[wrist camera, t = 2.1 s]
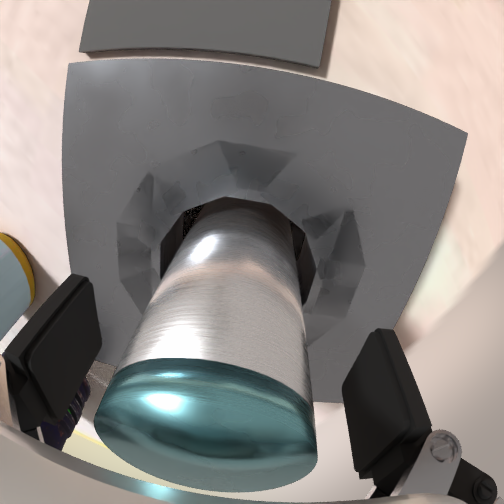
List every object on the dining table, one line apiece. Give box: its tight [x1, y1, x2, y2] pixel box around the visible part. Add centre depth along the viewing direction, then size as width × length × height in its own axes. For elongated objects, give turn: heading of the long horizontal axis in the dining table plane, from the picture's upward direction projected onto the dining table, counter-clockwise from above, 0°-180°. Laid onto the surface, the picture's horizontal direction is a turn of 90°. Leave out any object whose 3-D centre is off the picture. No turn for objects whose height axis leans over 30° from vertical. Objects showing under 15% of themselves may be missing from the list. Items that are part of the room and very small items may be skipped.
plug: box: [94, 196, 318, 492], centre depth 11 cm, size 5×5×12 cm
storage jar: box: [2, 352, 90, 451], centre depth 17 cm, size 10×10×15 cm
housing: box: [62, 59, 468, 403], centre depth 14 cm, size 16×16×4 cm
